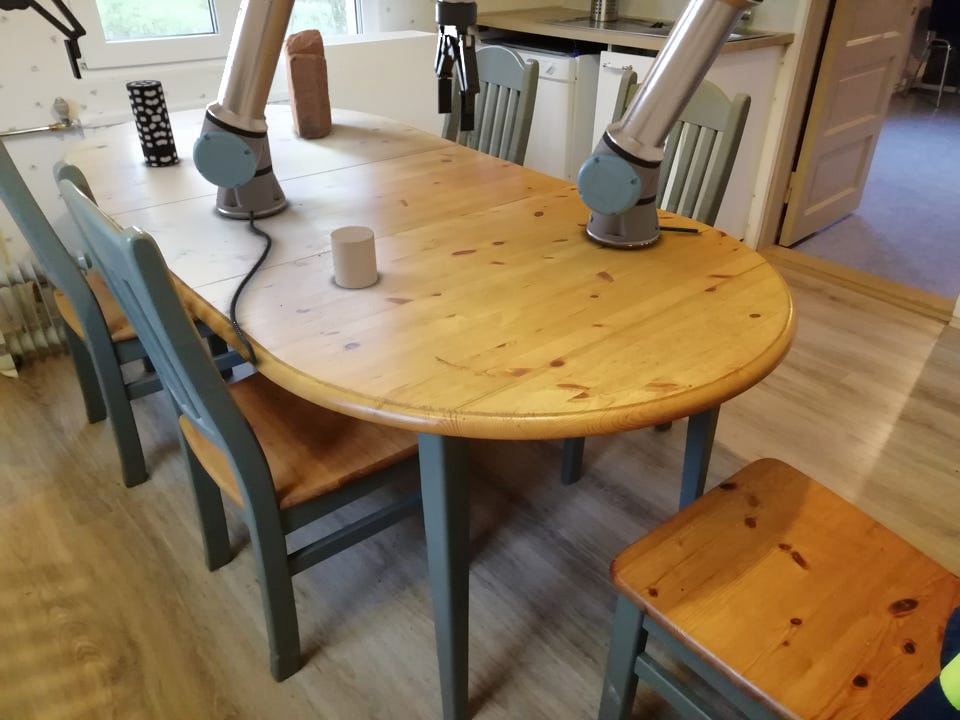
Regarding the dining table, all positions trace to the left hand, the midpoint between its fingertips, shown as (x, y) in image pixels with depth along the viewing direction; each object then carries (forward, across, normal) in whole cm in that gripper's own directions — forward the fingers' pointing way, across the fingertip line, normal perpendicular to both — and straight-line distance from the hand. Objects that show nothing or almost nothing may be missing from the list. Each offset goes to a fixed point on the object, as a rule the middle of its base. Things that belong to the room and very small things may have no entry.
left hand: (38, 82), depth 127 cm
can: (+30, +34, -52) cm, 69 cm away
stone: (+30, +77, +48) cm, 96 cm away
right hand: (+7, +62, -45) cm, 77 cm away
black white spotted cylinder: (+20, +29, +42) cm, 55 cm away
